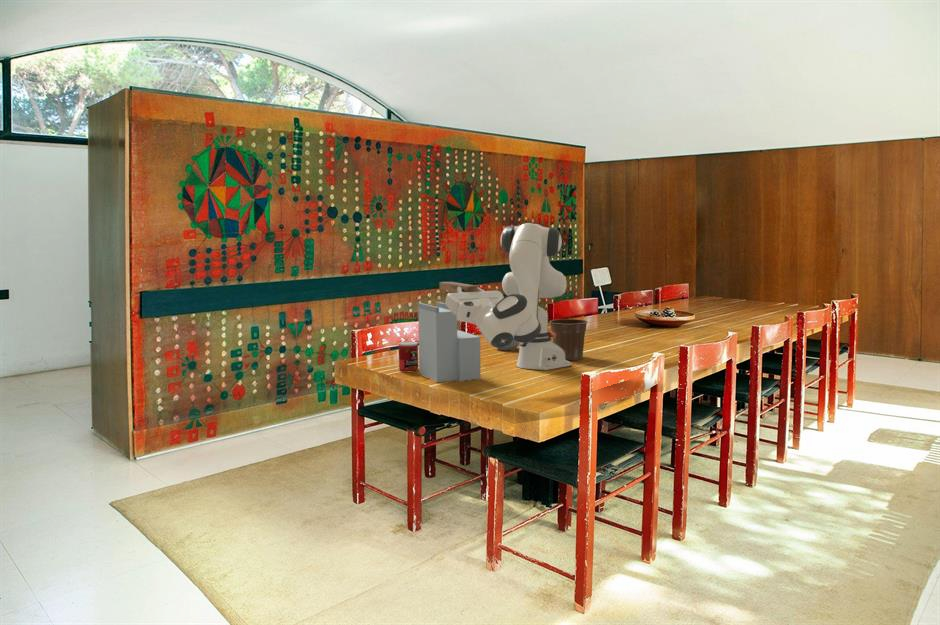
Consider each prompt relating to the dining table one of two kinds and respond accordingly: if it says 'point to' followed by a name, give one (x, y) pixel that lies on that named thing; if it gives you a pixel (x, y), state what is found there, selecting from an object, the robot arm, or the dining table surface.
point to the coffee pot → (511, 346)
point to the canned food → (408, 356)
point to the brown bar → (453, 286)
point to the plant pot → (569, 336)
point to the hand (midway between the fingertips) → (467, 287)
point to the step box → (446, 346)
